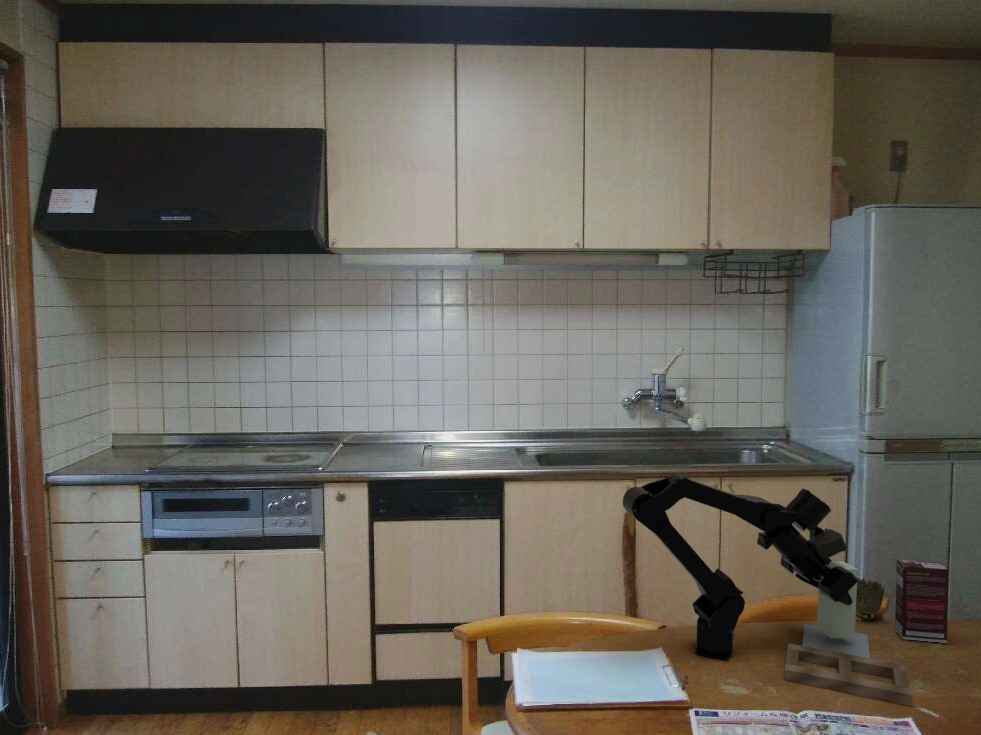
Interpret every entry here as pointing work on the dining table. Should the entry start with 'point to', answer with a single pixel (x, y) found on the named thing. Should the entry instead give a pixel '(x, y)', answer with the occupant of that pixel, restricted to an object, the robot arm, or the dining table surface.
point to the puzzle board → (848, 674)
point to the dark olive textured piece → (868, 599)
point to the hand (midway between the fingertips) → (842, 598)
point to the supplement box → (921, 600)
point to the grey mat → (836, 642)
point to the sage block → (837, 610)
